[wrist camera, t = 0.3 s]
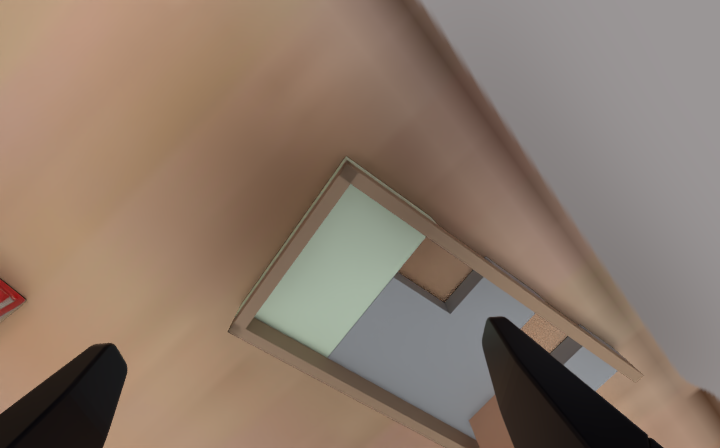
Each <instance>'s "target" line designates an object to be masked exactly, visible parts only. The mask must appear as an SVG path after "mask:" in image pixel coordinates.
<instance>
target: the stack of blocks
mask: <svg viewBox="0 0 720 448" xmlns="http://www.w3.org/2000/svg"><path fill="white" fill-rule="evenodd" d="M25 301H26V300H25V299H24V298H23V297H22V296H21V295H19V294H18V293H17V292H16V291H14V290H13V289H12V288H11V287H9V286H8V285H7V284H6V283H4V282H3V281H2V280H1V279H0V322H2V321H3V320H4V319H6V318H7V317H8V316H9V315H11V314H12V313H13V312H14V311H15V310H17V309H18V308H19V307H20V306H21V305H22V304H23V303H24V302H25Z"/></svg>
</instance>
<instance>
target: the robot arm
mask: <svg viewBox="0 0 720 448" xmlns="http://www.w3.org/2000/svg"><path fill="white" fill-rule="evenodd" d="M482 348H483V352H484V356H485V359H486V363H487V367H488V370H489V374H490V377H491V381H492V385H493V388H494V392H495V396H496V399H497V403H498V406H499V409H500V412H501V415H502V418H503V420H504V423H505V425H506V428H507V431H508V433H509V436H510V438H511V441H512V443H513V446H514V448H663V447H662V446H661V445H660V444H658V443H657V442H656V441H655V440H654V439H652V438H648V435H647V434H646V433H645V432H644V431H642V430H641V429H640V428H639V427H638V426H636V425H635V424H634V423H633V422H632V421H630V420H629V419H628V418H627V417H626V416H624V415H623V414H622V413H621V412H620V411H618V410H617V409H616V408H615V407H614V406H612V405H611V404H610V403H609V402H607V401H606V400H605V399H604V398H603V397H601V396H600V395H599V394H598V393H597V392H595V391H594V390H593V389H592V388H591V387H589V386H588V385H587V384H586V383H585V382H583V381H582V380H581V379H580V378H579V377H577V376H576V375H575V374H574V373H573V372H571V371H570V370H569V369H568V368H566V367H565V366H564V365H563V364H562V363H560V362H559V361H558V360H557V359H556V358H554V357H553V356H552V355H551V354H550V353H548V352H547V351H546V350H545V349H544V348H542V347H541V346H540V345H539V344H538V343H536V342H535V341H534V340H533V339H532V338H530V337H529V336H528V335H527V334H525V333H524V332H523V331H522V330H521V329H519V328H518V327H517V326H516V325H515V324H513V323H512V322H511V321H510V320H509V319H507V318H506V317H503V316H497V317H488V318H487V320H486V323H485V327H484V332H483V336H482ZM126 375H127V364H126V362H125V360H124V359H123V357H122V355H121V354H120V352H119V350H118V349H117V347H116V346H115V345H114V344H112V343H103V344H95V345H92V346H90V347H89V348H88V349H86V350H85V351H84V352H82V353H81V354H80V355H78V356H77V357H76V358H74V359H73V360H72V361H70V362H69V363H68V364H66V365H65V366H64V367H62V368H61V369H60V370H58V371H57V372H56V373H54V374H53V375H52V376H50V377H49V378H48V379H46V380H45V381H44V382H42V383H41V384H40V385H38V386H37V387H36V388H34V389H33V390H32V391H30V392H29V393H28V394H26V395H25V396H24V397H22V398H21V399H20V400H18V401H17V402H16V403H14V404H13V405H12V406H10V407H9V408H8V409H7V410H5V411H4V412H3V413H1V414H0V448H103V446H104V443H105V440H106V438H107V435H108V432H109V429H110V426H111V423H112V420H113V416H114V413H115V410H116V407H117V404H118V401H119V397H120V394H121V391H122V388H123V385H124V382H125V378H126Z"/></svg>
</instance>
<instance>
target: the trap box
mask: <svg viewBox="0 0 720 448" xmlns="http://www.w3.org/2000/svg"><path fill="white" fill-rule="evenodd" d="M426 237H427V238H429V239H430V240H432V241H433V242H434V243H436V244H437V245H439V246H440V247H442V248H443V249H444V250H446V251H447V252H449V253H450V254H452V255H453V256H454V257H456V258H457V259H459V260H460V261H462V262H463V263H464V264H466V265H467V266H469V267H470V268H472V269H473V271H472V272H471V273H470V274H469V275H468V277H467V278H466V279H465V280H464V281H463V282H462V283H461V284H460V286H459V287H458V288H457V289H456V290H455V291H454V292H453V294H452V295H451V296H450V297H449V298H448V299H447V300H446V301H445V303H444V302H442V301H441V300H439V299H438V298H436V297H435V296H433V295H432V294H430V293H429V292H427V291H426V290H424V289H423V288H421V287H420V286H418V285H417V284H415V283H413V282H412V281H410V280H409V279H407V278H406V277H404V276H403V275H401V274H400V273H398V270H399V269H400V268H401V267H402V266H403V264H404V263H405V262H406V261H407V259H408V258H409V257H410V256H411V255H412V253H413V252H414V251H415V250H416V248H417V247H418V246H419V245H420V244H421V242H422V241H423V240H424V239H425V238H426ZM535 313H536V314H537V315H539V316H540V317H542V318H543V319H544V320H546V321H547V322H549V323H550V324H552V325H553V326H554V327H556V328H557V329H559V330H560V331H562V332H563V333H564V334H566V335H567V336H568V337H567V338H566V339H565V340H564V341H563V342H562V343H561V344H560V345H559V346H558V347H557V348H555V349H554V350H553V351H552V352H551V353H550V354H551V355H552V356H553V357H554V358H556V359H557V360H558V361H559V362H560V363H562V364H563V365H564V366H565V367H566V368H568V369H569V370H570V371H571V372H573V373H574V374H575V375H576V376H577V377H579V378H580V379H581V380H582V381H583V382H585V383H586V384H587V385H588V386H589V387H591V388H592V389H593V390H594V391H596V390H597V389H598V388H599V387H601V386H602V385H603V384H604V383H605V382H606V381H607V380H608V379H609V378H610V377H611V376H613V375H614V374H615V373H616V372H617V371H619V372H620V373H622V374H623V375H624V376H626V377H627V378H629V379H630V380H632V381H633V382H634V383H636V382H637V381H639V380H640V379H641V378H642V377H643V376H644V375H643V374H642V373H641V372H639V371H638V370H637V369H636V368H635V367H634V366H633V365H632V364H630V363H629V362H628V361H627V360H626V359H625V358H624V357H623V356H622V355H620V354H619V353H618V352H617V351H616V350H615V349H614V348H612V347H611V346H609V345H608V344H607V343H605V342H604V341H603V340H601V339H600V338H598V337H597V336H596V335H594V334H593V333H591V332H590V331H589V330H587V329H586V328H584V327H583V326H582V325H579V326H578V325H577V324H575V323H574V322H572V321H571V320H570V319H568V318H567V317H565V316H564V315H563V314H561V313H560V312H558V311H557V310H556V309H554V308H553V307H552V306H550V305H549V304H547V303H546V302H545V301H544V300H543V299H542V298H541V297H540V296H539V295H538V294H537V293H536V292H534V291H533V290H532V289H530V288H529V287H527V286H526V285H525V284H523V283H522V282H521V281H519V280H518V279H516V278H515V277H514V276H512V275H511V274H509V273H508V272H507V271H505V270H504V269H502V268H501V267H500V266H498V265H497V264H495V263H494V262H493V261H491V260H490V259H489V258H487V257H486V256H485V257H484V258H483V257H482V256H480V255H479V254H478V253H476V252H475V251H473V250H472V249H471V248H469V247H468V246H466V245H465V244H464V243H462V242H461V241H459V240H458V239H457V238H455V237H454V236H452V235H451V234H450V233H448V232H447V231H445V230H444V229H443V228H441V227H440V226H438V225H437V224H436V223H435V221H434V220H433V219H432V218H431V217H430V216H429V215H427V214H426V213H425V212H423V211H422V210H420V209H419V208H418V207H416V206H415V205H413V204H412V203H411V202H409V201H408V200H406V199H405V198H404V197H402V196H401V195H400V194H398V193H397V192H395V191H394V190H393V189H391V188H390V187H388V186H387V185H386V184H384V183H383V182H381V181H380V180H379V179H377V178H376V177H375V176H373V175H372V174H370V173H369V172H368V171H366V170H365V169H363V168H362V167H361V166H359V165H358V164H356V163H355V162H354V161H352V160H351V159H349V158H348V157H347V156H346V157H345V158H344V160H343V161H342V163H341V164H340V166H339V167H338V168H337V170H336V171H335V173H334V174H333V175H332V177H331V178H330V180H329V181H328V183H327V184H326V185H325V187H324V188H323V190H322V191H321V192H320V194H319V195H318V197H317V198H316V200H315V201H314V202H313V204H312V205H311V207H310V208H309V209H308V211H307V212H306V214H305V215H304V217H303V218H302V219H301V221H300V222H299V224H298V225H297V226H296V228H295V229H294V231H293V232H292V233H291V235H290V236H289V238H288V239H287V241H286V242H285V243H284V245H283V246H282V248H281V249H280V250H279V252H278V253H277V255H276V256H275V258H274V259H273V260H272V262H271V263H270V265H269V266H268V267H267V269H266V270H265V272H264V273H263V275H262V276H261V277H260V279H259V280H258V282H257V283H256V284H255V286H254V287H253V289H252V290H251V292H250V293H249V294H248V296H247V297H246V299H245V300H244V301H243V303H242V304H241V306H240V307H239V309H238V312H237V314H236V316H235V318H234V320H233V322H232V324H231V326H230V328H229V330H228V332H229V333H230V334H232V335H234V336H236V337H238V338H240V339H242V340H244V341H246V342H247V343H249V344H251V345H253V346H255V347H257V348H259V349H261V350H262V351H264V352H266V353H268V354H270V355H272V356H274V357H276V358H278V359H279V360H281V361H283V362H285V363H287V364H289V365H291V366H293V367H294V368H296V369H298V370H300V371H302V372H304V373H306V374H308V375H309V376H311V377H313V378H315V379H317V380H319V381H321V382H323V383H325V384H326V385H328V386H330V387H332V388H334V389H336V390H338V391H340V392H341V393H343V394H345V395H347V396H349V397H351V398H353V399H355V400H356V401H358V402H360V403H362V404H364V405H366V406H368V407H370V408H372V409H373V410H375V411H377V412H379V413H381V414H383V415H385V416H387V417H388V418H390V419H392V420H394V421H396V422H398V423H400V424H402V425H404V426H405V427H407V428H409V429H411V430H413V431H415V432H417V433H419V434H420V435H422V436H424V437H426V438H428V439H430V440H432V441H434V442H435V443H437V444H439V445H441V446H443V447H445V448H480V447H479V445H478V442H477V440H476V437H475V435H474V432H473V430H472V428H471V425H470V423H469V420H470V419H471V418H472V417H473V416H474V415H475V414H476V413H477V412H478V411H479V410H480V409H481V408H482V407H483V406H484V405H485V404H486V403H487V402H488V401H489V400H490V399H491V398H492V397H493V396H494V395H495V392H494V388H493V385H492V381H491V377H490V374H489V370H488V367H487V363H486V359H485V356H484V352H483V348H482V336H483V332H484V327H485V323H486V320H487V318H488V317H497V316H503V317H506V318H507V319H509V320H510V321H511V322H512V323H513V324H515V325H516V326H517V327H518V328H519V329H521V328H522V327H523V326H524V325H525V324H526V322H527V321H528V320H529V319H530V318H531V317H532V316H533V315H534V314H535Z"/></svg>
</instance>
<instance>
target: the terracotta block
mask: <svg viewBox="0 0 720 448" xmlns="http://www.w3.org/2000/svg"><path fill="white" fill-rule="evenodd" d="M469 423H470V425H471V428H472V430H473V432H474V435H475V437H476V440H477V442H478V445H479V447H480V448H514V446H513V443H512V441H511V438H510V436H509V433H508V431H507V428H506V425H505V423H504V420H503V418H502V415H501V412H500V409H499V406H498V403H497V399H496V396H495V395H494V396H493V397H492V398H491V399H490V400H489V401H488V402H487V403H486V404H485V405H484V406H483V407H482V408H481V409H480V410H479V411H478V412H477V413H476V414H475V415H474V416H473V417H472V418H471V419H470V420H469Z"/></svg>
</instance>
